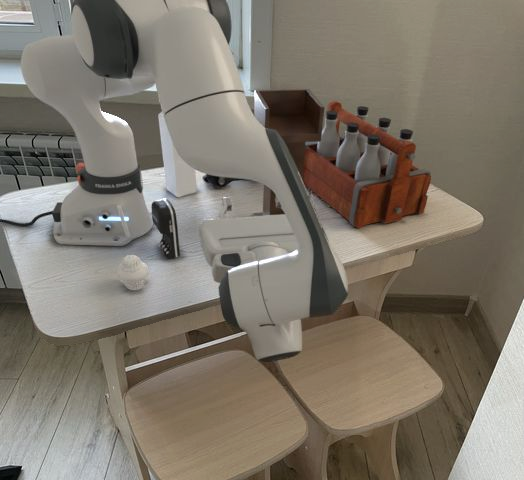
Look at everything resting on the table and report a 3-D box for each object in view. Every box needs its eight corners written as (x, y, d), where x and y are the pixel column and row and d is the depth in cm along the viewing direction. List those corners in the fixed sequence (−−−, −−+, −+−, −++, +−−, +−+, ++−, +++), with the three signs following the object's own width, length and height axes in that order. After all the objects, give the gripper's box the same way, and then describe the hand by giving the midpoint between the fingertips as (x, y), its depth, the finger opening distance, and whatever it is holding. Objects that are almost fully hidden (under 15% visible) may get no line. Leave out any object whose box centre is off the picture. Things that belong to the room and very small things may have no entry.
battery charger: (154, 245, 111) (148, 198, 103) (171, 242, 112) (165, 194, 105) (164, 261, 107) (157, 212, 99) (181, 257, 108) (176, 209, 100)
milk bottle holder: (360, 234, 117) (375, 153, 104) (290, 176, 140) (295, 103, 127) (430, 217, 124) (452, 139, 111) (352, 165, 147) (363, 94, 134)
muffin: (118, 296, 97) (112, 266, 92) (120, 278, 102) (114, 248, 97) (151, 293, 98) (146, 263, 93) (150, 276, 102) (146, 246, 98)
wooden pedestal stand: (261, 243, 113) (265, 108, 93) (252, 218, 122) (254, 90, 102) (310, 240, 115) (324, 107, 95) (298, 215, 123) (309, 88, 104)
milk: (177, 197, 129) (168, 107, 114) (166, 189, 132) (155, 100, 117) (197, 191, 131) (191, 103, 116) (185, 183, 135) (178, 96, 120)
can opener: (209, 193, 131) (208, 172, 127) (201, 182, 136) (199, 162, 132) (270, 183, 137) (271, 162, 133) (260, 173, 141) (260, 153, 137)
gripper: (329, 254, 81) (314, 183, 85) (205, 264, 78) (195, 190, 82) (320, 271, 87) (306, 204, 91) (204, 281, 84) (195, 211, 88)
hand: (253, 197), depth 87 cm, fingers open, 8 cm apart
